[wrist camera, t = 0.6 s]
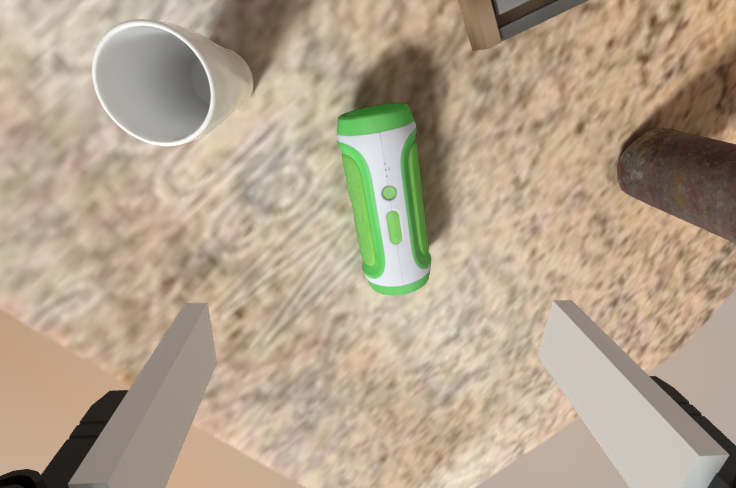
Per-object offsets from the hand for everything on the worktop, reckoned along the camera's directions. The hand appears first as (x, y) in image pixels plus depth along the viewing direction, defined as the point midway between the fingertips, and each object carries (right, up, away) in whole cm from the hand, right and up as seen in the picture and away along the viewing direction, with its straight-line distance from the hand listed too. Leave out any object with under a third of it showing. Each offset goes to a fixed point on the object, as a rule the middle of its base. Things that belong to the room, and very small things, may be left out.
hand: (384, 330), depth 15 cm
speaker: (+1, +9, +26) cm, 28 cm away
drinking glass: (-14, +18, +21) cm, 31 cm away
